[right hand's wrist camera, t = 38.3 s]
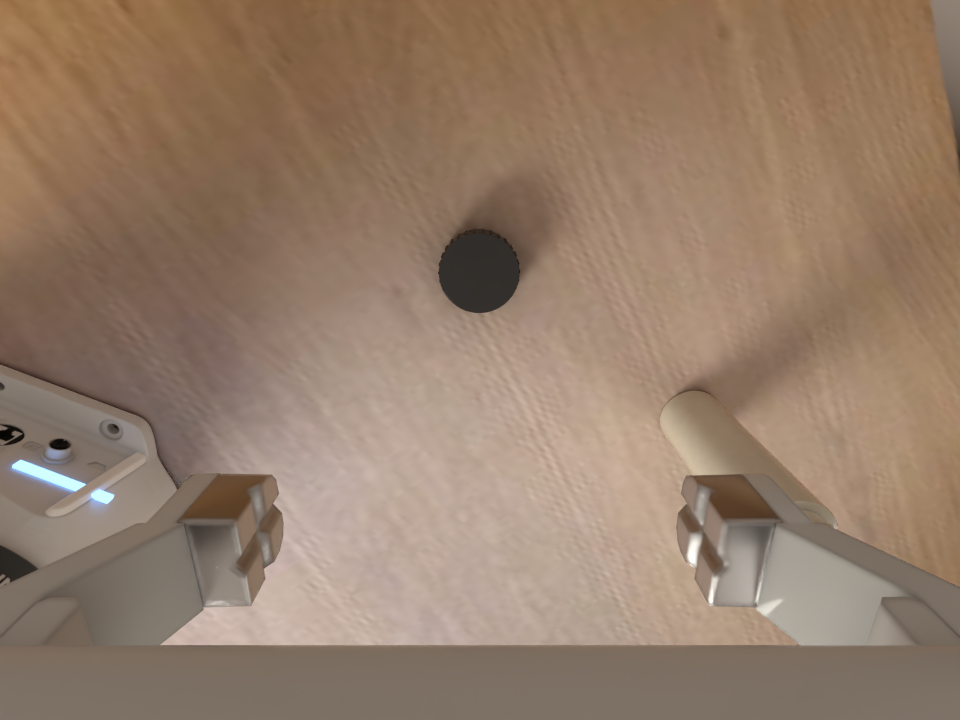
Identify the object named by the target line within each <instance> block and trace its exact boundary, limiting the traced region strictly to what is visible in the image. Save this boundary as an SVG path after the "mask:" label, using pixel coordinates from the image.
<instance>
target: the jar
mask: <svg viewBox="0 0 960 720" xmlns="http://www.w3.org/2000/svg"><path fill="white" fill-rule="evenodd" d="M660 427H661V430H662V432H663V434H664V436H665V437H666V439H667V440H668V442H669V443H670V444H671V446H672V447H673V449H674V450H675V452H676V453H677V455H678V456H679V457H680V459H681V460H682V462H683V463H684V465H685V466H686V468H687V469H688V470H689V472H690V473H691V475H730V474H754V473H763V474H766V475H768V476H770V477H771V478H772V479H773V480H774V481H775V482H776V483H777V485H778V486H779V487H780V488H781V489H782V490H783V491H784V492H785V493H786V494H787V495H788V496H789V497H790V498H791V499H792V500H793V501H794V502H795V504H796V505H797V506H798V507H799V508H800V509H801V510H802V511H803V512H804V513H805V514H806V515H807V516H808V517H809V518H810V519H811V520H812V521H813V522H814V523H823V524H825V525H828V526H830V527H832V528H834V529H836V530H838V525H837V521H836V519H835V517H834V515H833V514H832V512H830V511H829V510H828V509H827V508H826V507H825V506H824V505H823V504H822V503H821V502H820V501H819V500H818V499H817V498H816V497H815V496H814V495H813V494H812V493H811V492H810V491H809V490H808V489H807V488H806V487H805V486H804V485H803V484H802V483H801V482H800V481H799V480H798V479H797V478H796V477H795V476H794V475H793V474H792V473H791V472H790V471H789V470H788V469H787V468H786V467H785V466H783V465H782V464H781V463H780V462H779V461H778V460H777V459H776V458H775V457H774V456H773V455H772V454H771V453H770V452H769V451H768V450H767V449H766V448H765V447H764V446H763V445H762V444H761V443H760V442H759V441H758V440H757V439H756V438H755V437H754V436H753V435H752V434H751V433H750V432H749V431H748V430H747V429H746V428H745V427H744V426H743V425H742V424H741V423H740V422H738V421H737V420H736V419H735V418H734V417H733V416H732V415H731V414H730V413H729V412H728V411H727V410H726V409H725V408H724V407H723V406H722V405H721V404H720V403H719V402H718V401H717V400H716V399H715V398H714V397H713V396H711V395H710V394H708V393H705V392H702V391H687V392H683V393H681V394H679V395H677V396H675V397H674V398H672V399H671V400H670V401H669V402H668V403H667V404H666V405H665V407H664V409H663V410H662V413H661V417H660ZM838 531H839V530H838Z"/></svg>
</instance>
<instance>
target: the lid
mask: <svg viewBox="0 0 960 720" xmlns="http://www.w3.org/2000/svg"><path fill="white" fill-rule="evenodd" d="M516 256H517V255H516V253H515V252H514V251H513V248H512V245H511V244H510V245H509V243H508V242H507V240H506V239H503V238H502V237H501V236H500V234H496V233H493V232H492V231H491V230H490V231H487V230H484V229H482V230H475V229H474V230H472V231H468V232H467V231H465V233H463V234H461V235H460V234H458V236H457V237H456V238H455V239H454V240H453V239H452V240H451V242H450V244H449V245H448V246H446V248H445V252H444V253H443V254H442V256H441V258H442V259H441V261H440V263H439V266H440V268H439V272H438V274H439V278H440V283H441V287H442V290H443V291H444V293H445V295H446V296H447V297H448V299H449V300H450V301H451V302H452V303H453V304H455V305H456V306H457V307H459V308H461V309H463V310H465V311H469V312H474V313H485V312H490V311H493V310H496V309H497V308H499V307H501V306H502V305H504V304H505V303H506V302H507V301H508V300H509V299H510V298H511V297H512V295H513V294H514V292H515V290H516V288H517V285H518V281H519V273H520V270H519V261H518V259H517V258H516Z"/></svg>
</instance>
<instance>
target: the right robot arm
mask: <svg viewBox="0 0 960 720" xmlns="http://www.w3.org/2000/svg"><path fill="white" fill-rule="evenodd" d="M114 424H115V425H117V426H118V428H119V429H117V428H116V427H115V426H114ZM278 494H279V492H278V487H277V482H276V479H275V478H274V477H273V476H272V475H261V474H219V473H213V474H195V475H191V476H190V477H189V478H188V479H187V480H186V481H185V483H184V484H183V485H182V486H181V487H180V488H179V489H178V490H177V488H176V486H175V484H174V482H173V480H172V479H171V477H170V476H169V474H168V473H167V471H166V470H165V468H164V467H163V465H162V463H161V462H160V460H159V457H158V454H157V448H156V443H155V438H154V434H153V432H152V429H151V427H150V425H149V424H148V423H147V421H145V420H144V419H143V418H141V417H139V416H137V415H134V414H132V413H129V412H126V411H124V410H121V409H118V408H116V407H113V406H110V405H108V404H105V403H102V402H100V401H97V400H94V399H92V398H89V397H86V396H84V395H81V394H78V393H76V392H73V391H70V390H68V389H65V388H62V387H59V386H57V385H54V384H51V383H49V382H46V381H43V380H41V379H38V378H35V377H33V376H30V375H27V374H25V373H22V372H19V371H17V370H14V369H11V368H9V367H6V366H3V365H1V364H0V720H960V587H958V586H956V585H954V584H952V583H950V582H947V581H945V580H943V579H941V578H939V577H937V576H935V575H932V574H930V573H928V572H926V571H924V570H922V569H920V568H917V567H915V566H913V565H911V564H909V563H907V562H905V561H902V560H900V559H898V558H896V557H894V556H892V555H890V554H887V553H885V552H883V551H881V550H879V549H877V548H875V547H873V546H870V545H868V544H866V543H864V542H862V541H860V540H858V539H855V538H853V537H851V536H849V535H847V534H845V533H843V532H840V531H838V530H836V529H834V528H832V527H830V526H828V525H825V524H823V523H814V522H813V521H812V520H811V519H810V518H809V517H808V516H807V515H806V514H805V513H804V512H803V511H802V510H801V509H800V508H799V507H798V506H797V505H796V504H795V502H794V501H793V500H792V499H791V498H790V497H789V496H788V495H787V494H786V493H785V492H784V491H783V490H782V489H781V488H780V487H779V486H778V485H777V483H776V482H775V481H774V480H773V479H772V478H771V477H770V476H768V475H766V474H763V473H754V474H730V475H690V476H686V477H685V480H684V482H683V486H682V492H681V494H682V496H683V498H684V499H685V501H686V503H687V504H686V505H685V506H684V507H683V508H682V509H681V510H680V512H679V513H678V518H677V527H676V528H677V539H678V544H679V547H680V551H681V553H682V555H683V557H684V559H685V561H686V562H687V563H689V564H690V565H692V566H693V567H695V568H696V574H695V580H696V582H697V584H698V586H699V588H700V590H701V592H702V593H703V595H704V597H705V599H706V601H707V603H708V605H709V606H727V607H757V609H756V610H758V611H759V612H760V613H761V614H763V615H764V616H765V617H766V618H768V619H769V620H770V621H771V622H772V623H774V624H775V625H776V626H777V627H779V628H780V629H781V630H782V631H784V632H785V633H786V634H787V635H789V636H790V637H791V638H792V639H794V640H795V641H796V642H797V643H798V644H800V645H160V644H162V643H163V642H164V641H165V640H167V639H168V638H169V637H170V636H172V635H173V634H174V633H175V632H177V631H178V630H179V629H180V628H182V627H183V626H184V625H185V624H186V623H188V622H189V621H190V620H191V619H193V618H194V617H195V616H196V615H198V614H199V613H200V612H201V611H203V607H232V606H251V605H252V603H253V601H254V599H255V597H256V595H257V594H258V592H259V590H260V588H261V586H262V584H263V582H264V580H265V574H264V568H265V567H267V566H268V565H270V564H271V563H273V562H274V561H275V559H276V557H277V555H278V553H279V551H280V547H281V543H282V538H283V518H282V513H281V512H280V510H279V509H278V508H277V507H276V506H275V505H274V504H273V503H274V501H275V499H276V498H277V496H278Z"/></svg>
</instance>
